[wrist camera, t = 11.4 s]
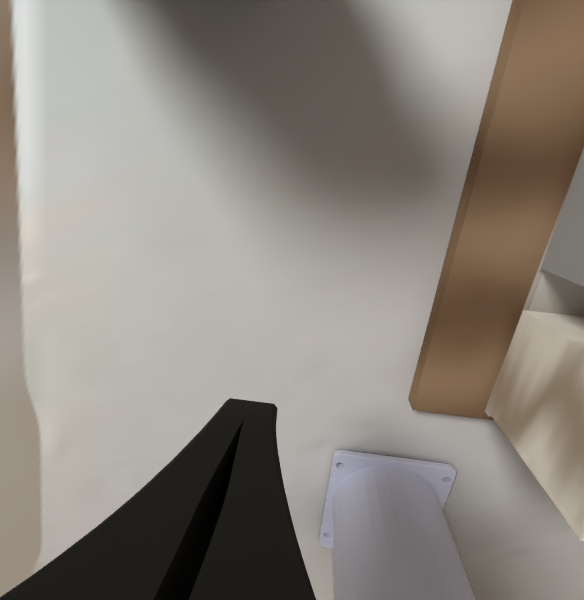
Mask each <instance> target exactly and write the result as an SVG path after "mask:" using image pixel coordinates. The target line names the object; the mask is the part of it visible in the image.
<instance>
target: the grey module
mask: <svg viewBox="0 0 584 600" xmlns="http://www.w3.org/2000/svg"><path fill="white" fill-rule="evenodd" d="M541 269H543V270H545V271H547V272H550V273H552V274H555V275H557V276H559V277H562V278H564V279H567V280H569V281H572V282H574V283H576V284H579V285H581V286H584V150H583V153H582V155H581V158H580V161H579V164H578V166H577V169H576V172H575V175H574V178H573V180H572V183H571V186H570V189H569V191H568V194H567V197H566V200H565V202H564V205H563V208H562V211H561V213H560V216H559V219H558V222H557V225H556V227H555V230H554V233H553V236H552V238H551V241H550V244H549V247H548V249H547V252H546V255H545V258H544V260H543V263H542V266H541Z"/></svg>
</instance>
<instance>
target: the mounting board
mask: <svg viewBox="0 0 584 600" xmlns="http://www.w3.org/2000/svg"><path fill="white" fill-rule="evenodd" d="M583 150H584V0H513V1H512V5H511V9H510V13H509V16H508V20H507V24H506V28H505V32H504V36H503V39H502V43H501V47H500V51H499V55H498V58H497V62H496V66H495V70H494V74H493V78H492V81H491V85H490V89H489V93H488V97H487V100H486V104H485V108H484V112H483V116H482V120H481V123H480V127H479V131H478V135H477V139H476V142H475V146H474V150H473V154H472V158H471V161H470V165H469V169H468V173H467V177H466V181H465V184H464V188H463V192H462V196H461V200H460V203H459V207H458V211H457V215H456V219H455V223H454V226H453V230H452V234H451V238H450V242H449V245H448V249H447V253H446V257H445V261H444V265H443V268H442V272H441V276H440V280H439V284H438V287H437V291H436V295H435V299H434V303H433V307H432V310H431V314H430V318H429V322H428V326H427V329H426V333H425V337H424V341H423V345H422V349H421V352H420V356H419V360H418V364H417V368H416V371H415V375H414V379H413V383H412V387H411V391H410V394H409V398H408V399H409V402H410V404H411V407H412V410H418V411H426V412H434V413H443V414H451V415H459V416H467V417H475V418H483V419H491V420H495V422H496V423H497V424H498V426H499V427H500V429H501V430H502V431H503V433H504V434H505V436H506V437H507V438H508V440H509V441H510V443H511V444H512V445H513V447H514V448H515V450H516V451H517V452H518V454H519V455H520V457H521V458H522V459H523V461H524V462H525V464H526V465H527V466H528V468H529V469H530V470H531V472H532V473H533V475H534V476H535V477H536V479H537V480H538V482H539V483H540V484H541V486H542V487H543V489H544V490H545V491H546V493H547V494H548V496H549V497H550V498H551V500H552V501H553V503H554V504H555V505H556V507H557V508H558V510H559V511H560V512H561V514H562V515H563V517H564V518H565V519H566V521H567V522H568V524H569V525H570V526H571V528H572V529H573V531H574V532H575V533H576V535H577V536H578V538H579V539H580V540H581V541H584V286H581V285H579V284H576V283H574V282H572V281H569V280H567V279H564V278H562V277H559V276H557V275H555V274H552V273H550V272H547V271H545V270H543V269H541V266H542V263H543V260H544V258H545V255H546V252H547V249H548V247H549V244H550V241H551V238H552V236H553V233H554V230H555V227H556V225H557V222H558V219H559V216H560V213H561V211H562V208H563V205H564V202H565V200H566V197H567V194H568V191H569V189H570V186H571V183H572V180H573V178H574V175H575V172H576V169H577V166H578V164H579V161H580V158H581V155H582V153H583Z"/></svg>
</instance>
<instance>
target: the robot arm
mask: <svg viewBox="0 0 584 600" xmlns="http://www.w3.org/2000/svg"><path fill="white" fill-rule="evenodd" d="M276 419H277V407H276V406H275V405H274V404H270V403H263V402H255V401H247V400H239V399H231V398H230V399H229V400H227V401H226V402H225V403H224V404H223V406H222V407H221V408H220V409H219V410H218V412H217V413H216V414H215V415H214V416H213V417H212V419H211V420H210V421H209V422H208V423H207V424H206V425H205V426H204V428H203V429H202V430H201V431H200V432H199V433H198V434H197V435H196V436H195V437H194V438H193V439H192V440H191V441H190V442H189V443H188V445H187V446H186V447H185V448H184V449H183V450H182V451H181V452H180V453H179V454H178V455H177V456H176V457H175V458H174V459H173V460H172V461H171V462H170V463H169V464H168V465H167V466H165V467H164V468H163V469H162V470H161V471H160V472H159V473H158V474H157V475H156V476H155V477H154V478H153V479H152V480H151V481H150V482H148V483H147V484H146V485H145V486H144V487H143V488H142V489H141V490H140V491H139V492H137V493H136V494H135V495H134V496H133V497H132V498H131V499H129V500H128V501H127V502H126V503H125V504H124V505H122V506H121V507H120V508H119V509H118V510H116V511H115V512H114V513H113V514H112V515H110V516H109V517H108V518H107V519H106V520H104V521H103V522H102V523H101V524H99V525H98V526H97V527H96V528H94V529H93V530H92V531H91V532H89V533H88V534H87V535H85V536H84V537H83V538H81V539H80V540H79V541H78V542H76V543H75V544H74V545H72V546H71V547H70V548H68V549H67V550H66V551H65V552H63V553H62V554H61V555H59V556H58V557H57V558H55V559H54V560H53V561H51V562H50V563H48V564H47V565H46V566H44V567H43V568H42V569H40V570H39V571H38V572H36V573H35V574H33V575H32V576H31V577H29V578H28V579H26V580H25V581H23V582H22V583H20V584H19V585H18V586H16V587H15V588H13V589H12V590H10V591H9V592H7V593H6V594H4V595H3V596H1V597H0V600H316V598H315V595H314V592H313V589H312V586H311V583H310V580H309V577H308V574H307V571H306V568H305V564H304V561H303V558H302V555H301V551H300V548H299V544H298V541H297V538H296V534H295V530H294V527H293V523H292V519H291V515H290V511H289V507H288V503H287V498H286V494H285V489H284V485H283V480H282V474H281V468H280V462H279V456H278V448H277V438H276ZM339 463H340V464H339ZM455 476H456V471H455V468H454V466H452V465H450V464H444V463H437V462H429V461H421V460H414V459H406V458H399V457H391V456H384V455H376V454H368V453H361V452H353V451H346V450H337V451H335V452H334V454H333V459H332V464H331V470H330V476H329V482H328V488H327V494H326V499H325V505H324V511H323V517H322V523H321V529H320V534H319V545H320V546H321V547H324V548H330V549H332V563H333V599H334V600H475V597H474V595H473V592H472V589H471V586H470V584H469V581H468V578H467V575H466V573H465V570H464V567H463V564H462V562H461V559H460V556H459V553H458V551H457V548H456V545H455V542H454V540H453V537H452V534H451V532H450V529H449V526H448V523H447V521H446V518H445V515H444V512H443V509H444V506H445V504H446V501H447V498H448V496H449V493H450V490H451V487H452V485H453V482H454V479H455ZM444 477H445V478H444Z"/></svg>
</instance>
